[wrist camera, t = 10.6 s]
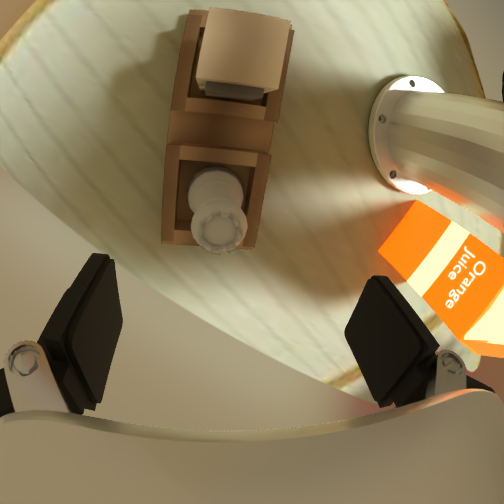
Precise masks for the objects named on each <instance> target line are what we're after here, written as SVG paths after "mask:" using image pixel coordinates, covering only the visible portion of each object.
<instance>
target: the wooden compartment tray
mask: <svg viewBox="0 0 504 504" xmlns="http://www.w3.org/2000/svg"><path fill="white" fill-rule="evenodd" d="M290 23H291V21H288V20H284V19H280V18H276V17H271V16H266V15H261V14H256V13H250V12H244V11H237V10H229V9H221V8H210V10H209V11H206V10H190V11H189V15H188V18H187V23H186V27H185V31H184V36H183V41H182V45H181V50H180V55H179V61H178V66H177V72H176V78H175V84H174V90H173V97H172V104H171V113H170V121H169V129H168V138H167V146H166V157H165V169H164V184H163V202H162V231H161V243H167V244H182V245H196V246H200V245H199V244H198V243H197V242H196V240H195V239H194V238H193V235H192V231H191V223H192V217H193V216H194V212H193V211H192V210H191V208H190V207H189V202H188V198H187V196H188V195H187V192H188V187H189V183H190V181H191V180H192V178H193V177H194V175H195V174H196V173H198V172H199V171H201V170H202V169H204V168H207V167H212V166H220V167H225V168H228V169H230V170H231V171H232V172H234V173H235V174H237V176H238V178H239V179H240V181H241V182H242V186H243V193H244V199H243V203H242V206H241V209H242V211H243V213H244V214H245V216H246V219H247V226H248V228H247V231H246V235H245V237H244V238H243V240H242V241H241V242H240V243H239V245H237V246H235V247H236V248H238V249H252V247H255V242H256V237H257V231H258V226H259V220H260V215H261V210H262V204H263V199H264V193H265V188H266V182H267V177H268V172H269V166H270V161H271V155H270V154H269V149H270V144H271V138H272V133H273V127H274V122H276V123H278V117H279V112H280V106H281V101H282V95H283V90H284V84H285V79H286V73H287V68H288V63H289V57H290V52H291V46H292V41H293V35H294V30H291V29H292V25H291V24H290Z"/></svg>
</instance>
